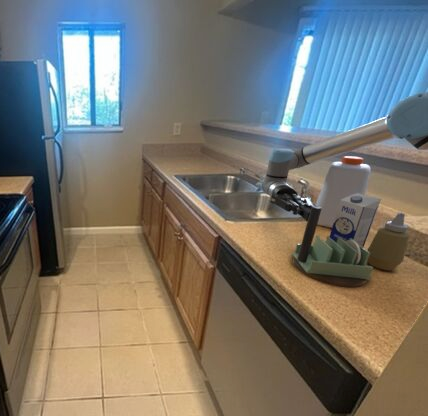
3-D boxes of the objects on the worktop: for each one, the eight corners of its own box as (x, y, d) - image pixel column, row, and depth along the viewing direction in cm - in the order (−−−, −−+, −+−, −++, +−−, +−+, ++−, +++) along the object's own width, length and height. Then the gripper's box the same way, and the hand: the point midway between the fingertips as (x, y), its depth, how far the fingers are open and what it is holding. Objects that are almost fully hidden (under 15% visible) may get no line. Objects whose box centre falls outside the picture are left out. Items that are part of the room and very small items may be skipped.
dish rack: (348, 259, 88) (367, 204, 81) (370, 279, 78) (395, 218, 71) (289, 254, 92) (303, 200, 85) (304, 272, 82) (321, 213, 75)
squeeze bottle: (403, 276, 81) (427, 220, 75) (367, 268, 85) (387, 215, 78) (393, 262, 88) (415, 210, 81) (360, 256, 91) (378, 206, 85)
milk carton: (361, 254, 93) (382, 198, 85) (346, 257, 91) (365, 200, 84) (340, 244, 99) (357, 192, 92) (325, 247, 98) (341, 194, 90)
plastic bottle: (308, 224, 116) (326, 158, 106) (313, 213, 126) (330, 152, 116) (355, 234, 107) (380, 163, 96) (356, 221, 117) (379, 156, 107)
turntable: (364, 265, 86) (365, 263, 86) (369, 295, 73) (370, 292, 73) (295, 248, 97) (296, 246, 97) (289, 272, 84) (290, 269, 84)
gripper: (299, 204, 106) (331, 230, 84) (262, 202, 109) (283, 226, 87) (304, 185, 103) (338, 207, 82) (265, 183, 106) (289, 204, 85)
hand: (310, 217), depth 85 cm, fingers closed
